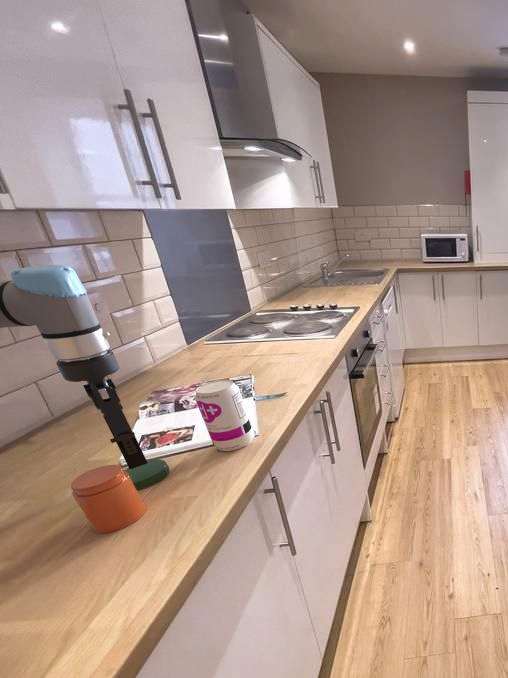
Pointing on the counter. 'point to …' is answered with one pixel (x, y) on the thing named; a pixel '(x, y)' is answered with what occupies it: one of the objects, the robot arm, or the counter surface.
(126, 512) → the honey jar
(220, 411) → the supplement can
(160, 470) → the honey lid
